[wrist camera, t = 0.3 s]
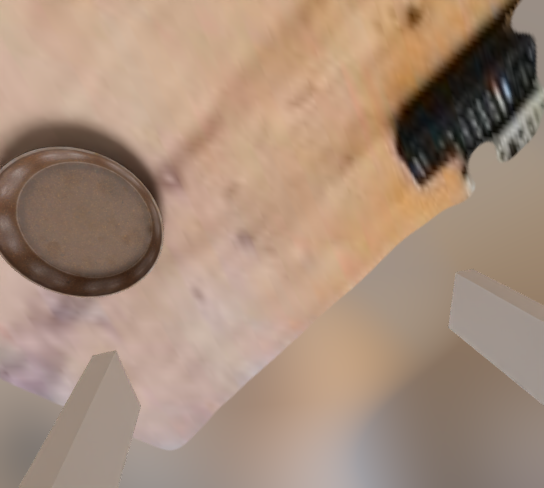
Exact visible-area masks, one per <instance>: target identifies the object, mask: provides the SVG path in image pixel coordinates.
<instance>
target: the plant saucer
mask: <svg viewBox="0 0 544 488" xmlns="http://www.w3.org/2000/svg"><path fill="white" fill-rule="evenodd" d="M163 240H164V229H163V221H162V217H161V214H160V210H159V208H158V206H157V203H156V201H155V200H154V198H153V196H152V195H151V193H150V192H149V190H148V189H147V188H146V186H145V185H144V184H143V183H142V182H141V181H140V180H139V179H138V178H137V177H136V176H135V175H134V174H133V173H132V172H130V171H129V170H128V169H127V168H125V167H124V166H122V165H121V164H119V163H117V162H116V161H114V160H112V159H110V158H108V157H106V156H104V155H101V154H99V153H96V152H93V151H89V150H85V149H81V148H74V147H45V148H39V149H35V150H31V151H29V152H26V153H23V154H21V155H19V156H17V157H16V158H14V159H12V160H11V161H10V162H8V163H7V164H6V165H4V166H3V167H2V168H1V169H0V255H1V256H2V257H3V259H4V260H5V261H6V262H7V263H8V264H9V265H10V266H11V267H12V268H13V269H14V270H15V271H16V272H18V273H19V274H20V275H22V276H23V277H24V278H26V279H27V280H29V281H31V282H32V283H34V284H36V285H38V286H40V287H42V288H44V289H47V290H49V291H52V292H55V293H59V294H62V295H67V296H73V297H81V298H95V297H103V296H109V295H113V294H116V293H119V292H122V291H125V290H127V289H129V288H131V287H133V286H134V285H136V284H137V283H139V282H140V281H141V280H143V279H144V278H145V277H146V276H147V275H148V274H149V273H150V271H151V270H152V269H153V268H154V266H155V264H156V263H157V261H158V259H159V256H160V254H161V251H162V247H163Z"/></svg>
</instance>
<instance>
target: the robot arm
mask: <svg viewBox="0 0 544 488" xmlns="http://www.w3.org/2000/svg"><path fill="white" fill-rule="evenodd" d="M448 327H449V329H451V330H452V331H453V332H454V333H456V334H457V335H458V336H459V337H461V338H462V339H463V340H464V341H465V342H467V343H468V344H469V345H471V346H472V347H473V348H474V349H475V350H476V351H478V352H479V353H480V354H481V355H483V356H484V357H485V358H486V359H487V360H489V361H490V362H491V363H492V364H494V365H495V366H496V367H497V368H498V369H500V370H501V371H502V372H503V373H505V374H506V375H507V376H508V377H510V378H511V379H512V380H513V381H515V382H516V383H517V384H518V385H519V386H521V387H522V388H523V389H524V390H525V391H527V392H528V393H529V394H530V395H532V396H533V397H534V398H535V399H536V400H538V401H539V402H540V403H541V404H543V405H544V305H542V304H540V303H538V302H536V301H534V300H532V299H530V298H529V297H527V296H525V295H522V294H521V293H519V292H517V291H515V290H513V289H511V288H509V287H507V286H505V285H503V284H501V283H499V282H497V281H495V280H493V279H491V278H489V277H487V276H486V275H484V274H482V273H480V272H478V271H475V270H474V269H470V270H465V271H461V272H456V273H455V281H454V289H453V297H452V304H451V311H450V319H449V326H448ZM140 408H141V405H140V403H139V401H138V398H137V396H136V394H135V392H134V389H133V387H132V385H131V383H130V380H129V378H128V376H127V374H126V372H125V369H124V367H123V365H122V363H121V360H120V358H119V356H118V354H117V351H111V352H107V353H103V354H98V355H94V356H92V358H91V360H90V361H89V363H88V365H87V367H86V369H85V370H84V372H83V374H82V376H81V377H80V379H79V381H78V383H77V384H76V386H75V388H74V390H73V392H72V393H71V395H70V397H69V399H68V400H67V402H66V404H65V406H64V408H63V410H62V411H61V413H60V415H59V416H58V418H57V420H56V422H55V423H54V425H53V427H52V429H51V431H50V432H49V434H48V436H47V438H46V439H45V441H44V443H43V445H42V446H41V448H40V450H39V452H38V454H37V455H36V457H35V459H34V461H33V462H32V464H31V466H30V468H29V470H28V471H27V473H26V475H25V477H24V479H23V480H22V482H21V484H20V485H19V487H18V488H118V486H119V483H120V479H121V476H122V472H123V468H124V465H125V461H126V458H127V454H128V451H129V447H130V443H131V439H132V436H133V433H134V429H135V425H136V422H137V418H138V415H139V411H140Z"/></svg>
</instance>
